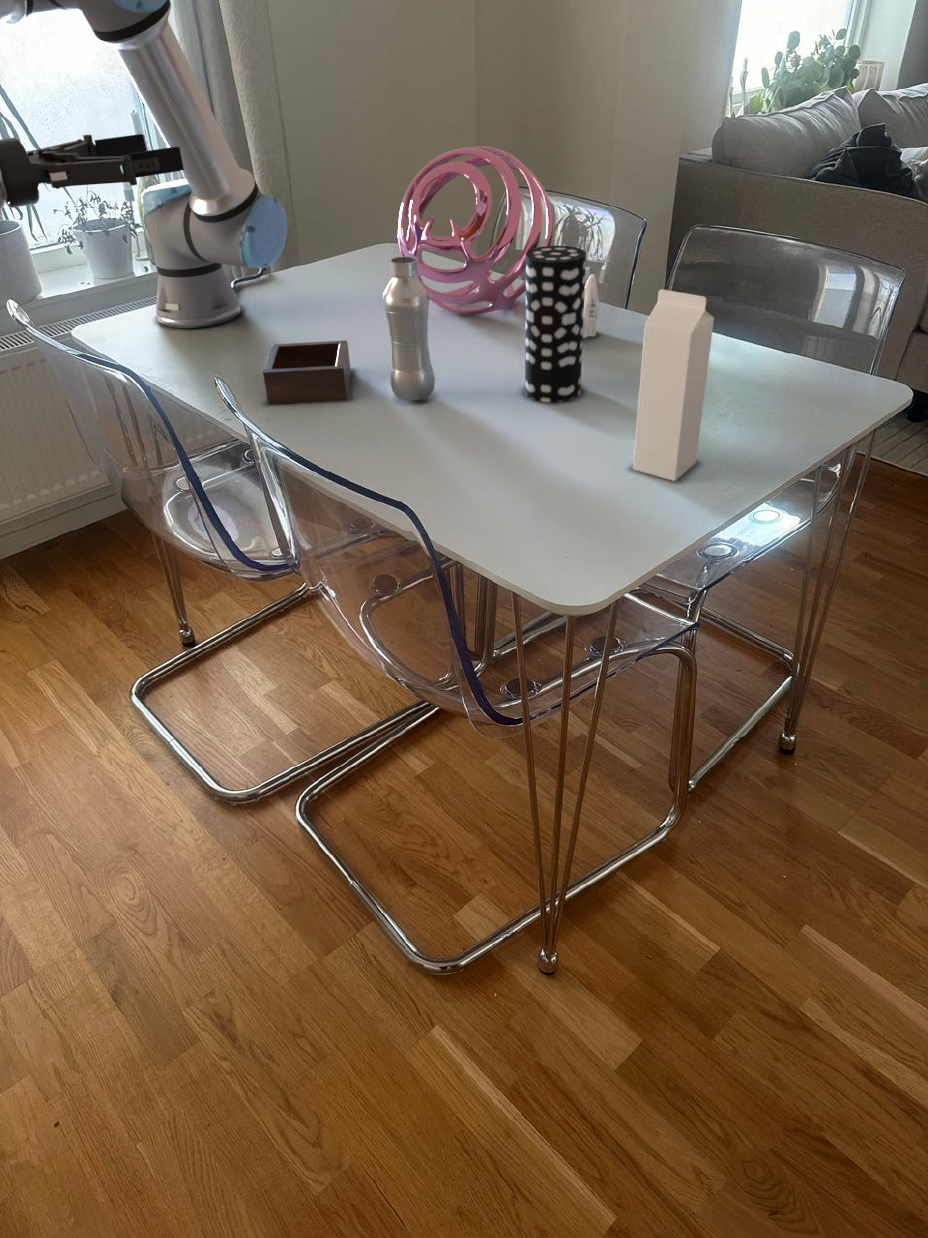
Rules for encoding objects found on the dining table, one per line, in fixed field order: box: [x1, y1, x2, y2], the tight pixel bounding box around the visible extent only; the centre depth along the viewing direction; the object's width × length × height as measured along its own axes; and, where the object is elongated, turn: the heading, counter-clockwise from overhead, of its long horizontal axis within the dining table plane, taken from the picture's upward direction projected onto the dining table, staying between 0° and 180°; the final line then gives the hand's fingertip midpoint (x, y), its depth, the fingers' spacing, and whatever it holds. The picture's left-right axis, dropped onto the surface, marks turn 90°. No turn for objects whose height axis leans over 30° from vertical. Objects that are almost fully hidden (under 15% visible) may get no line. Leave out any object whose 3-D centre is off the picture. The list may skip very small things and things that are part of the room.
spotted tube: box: [524, 245, 587, 403], centre depth 133 cm, size 8×8×20 cm
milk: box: [632, 288, 715, 482], centre depth 111 cm, size 6×6×22 cm
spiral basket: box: [397, 145, 554, 316], centre depth 165 cm, size 28×28×27 cm
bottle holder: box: [262, 339, 351, 405], centre depth 142 cm, size 12×12×5 cm
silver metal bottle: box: [382, 256, 436, 401], centre depth 133 cm, size 6×7×20 cm
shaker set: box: [583, 273, 600, 339], centre depth 152 cm, size 12×4×11 cm, turn 133°
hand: (162, 151), depth 123 cm, fingers open, 13 cm apart
